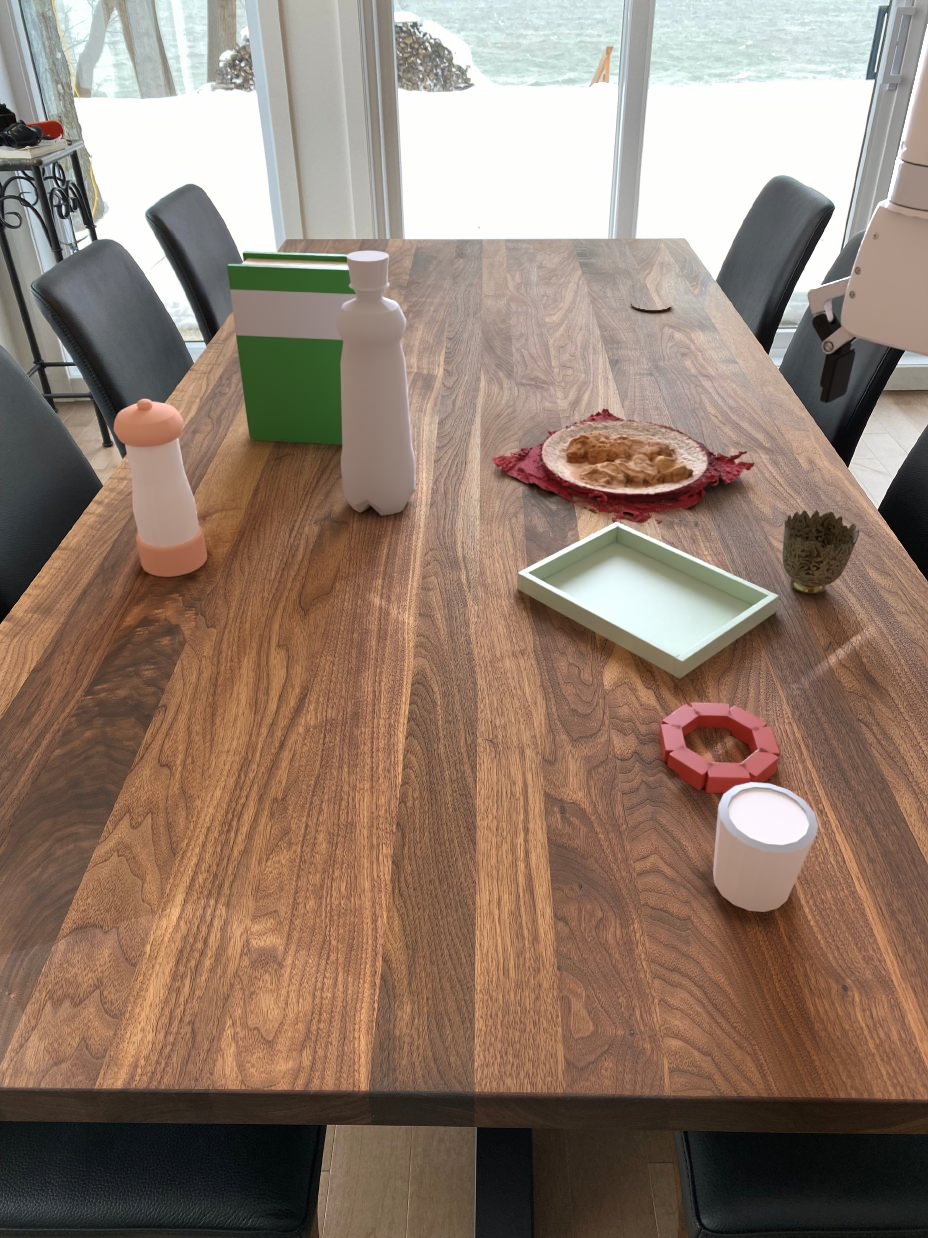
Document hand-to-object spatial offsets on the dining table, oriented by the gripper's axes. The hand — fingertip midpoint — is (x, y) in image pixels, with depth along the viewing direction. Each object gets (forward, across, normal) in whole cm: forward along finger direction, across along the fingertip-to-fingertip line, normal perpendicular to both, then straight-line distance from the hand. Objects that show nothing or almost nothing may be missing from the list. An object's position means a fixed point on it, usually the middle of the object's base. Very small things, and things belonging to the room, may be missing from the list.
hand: (886, 414), depth 79 cm
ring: (+26, 0, +17) cm, 31 cm away
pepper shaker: (+26, +61, +35) cm, 75 cm away
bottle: (+26, +56, +9) cm, 63 cm away
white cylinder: (+26, -10, +27) cm, 39 cm away
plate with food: (+26, +41, -20) cm, 53 cm away
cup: (+26, +8, -12) cm, 30 cm away
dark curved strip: (+26, +84, -82) cm, 120 cm away
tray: (+26, +19, +3) cm, 33 cm away
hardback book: (+26, +79, +2) cm, 83 cm away
